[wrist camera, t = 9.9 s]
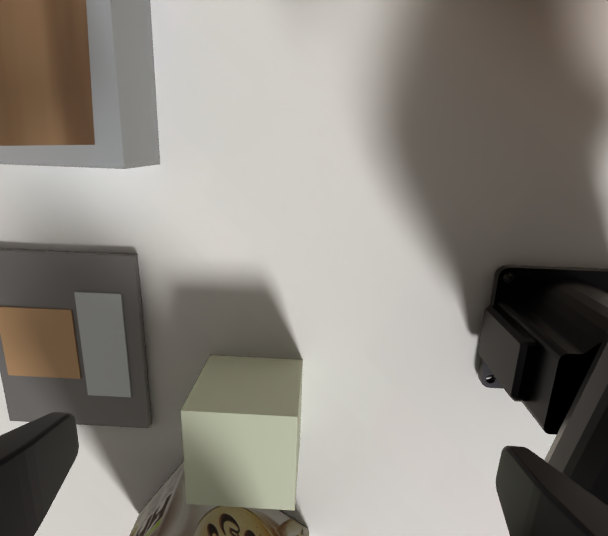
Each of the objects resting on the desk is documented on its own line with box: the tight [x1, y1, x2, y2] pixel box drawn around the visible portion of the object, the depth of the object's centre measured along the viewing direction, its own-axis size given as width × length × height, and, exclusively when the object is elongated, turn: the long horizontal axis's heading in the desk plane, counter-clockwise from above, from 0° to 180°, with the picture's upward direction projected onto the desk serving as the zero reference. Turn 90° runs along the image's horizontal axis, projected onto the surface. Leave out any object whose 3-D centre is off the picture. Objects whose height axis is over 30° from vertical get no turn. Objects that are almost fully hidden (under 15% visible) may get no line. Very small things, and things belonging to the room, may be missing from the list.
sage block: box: [181, 355, 303, 511], centre depth 21 cm, size 5×5×5 cm
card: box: [0, 249, 152, 428], centre depth 23 cm, size 8×10×1 cm
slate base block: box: [0, 0, 160, 169], centre depth 17 cm, size 7×7×4 cm
